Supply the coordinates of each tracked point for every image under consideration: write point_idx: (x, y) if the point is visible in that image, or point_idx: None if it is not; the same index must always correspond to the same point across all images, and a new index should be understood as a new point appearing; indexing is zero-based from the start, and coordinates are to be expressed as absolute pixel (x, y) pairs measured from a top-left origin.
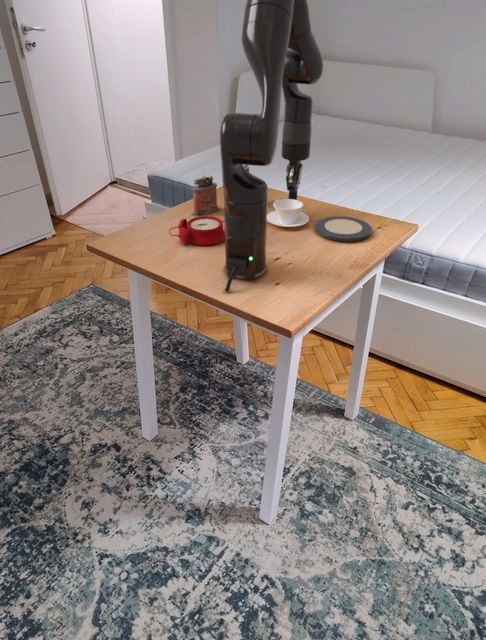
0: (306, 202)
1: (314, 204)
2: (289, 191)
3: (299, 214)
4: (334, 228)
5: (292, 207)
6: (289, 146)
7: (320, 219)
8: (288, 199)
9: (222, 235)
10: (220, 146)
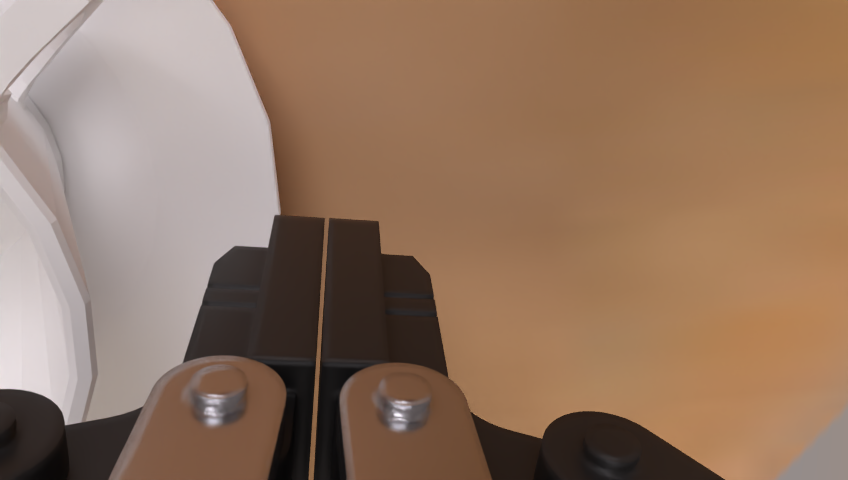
0: (790, 335)
1: (712, 427)
2: (251, 357)
3: (154, 336)
4: None
5: (46, 305)
6: None
7: None
8: (56, 291)
9: None
10: None
